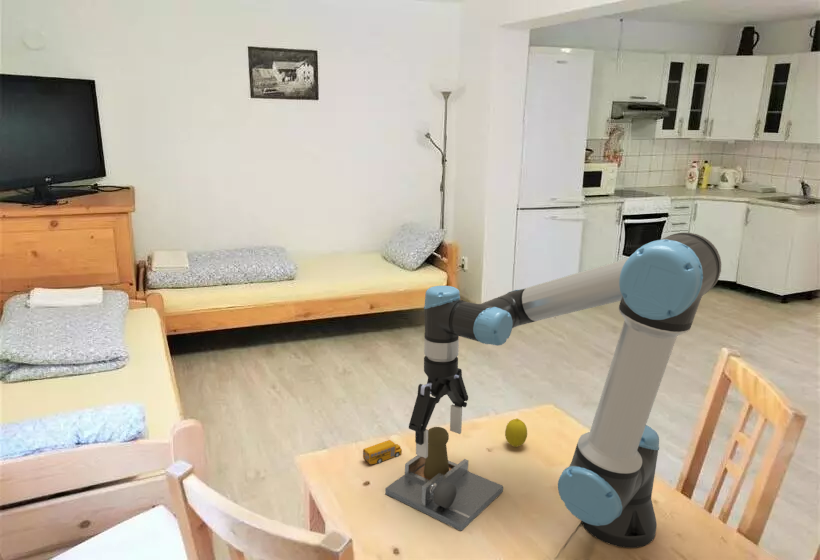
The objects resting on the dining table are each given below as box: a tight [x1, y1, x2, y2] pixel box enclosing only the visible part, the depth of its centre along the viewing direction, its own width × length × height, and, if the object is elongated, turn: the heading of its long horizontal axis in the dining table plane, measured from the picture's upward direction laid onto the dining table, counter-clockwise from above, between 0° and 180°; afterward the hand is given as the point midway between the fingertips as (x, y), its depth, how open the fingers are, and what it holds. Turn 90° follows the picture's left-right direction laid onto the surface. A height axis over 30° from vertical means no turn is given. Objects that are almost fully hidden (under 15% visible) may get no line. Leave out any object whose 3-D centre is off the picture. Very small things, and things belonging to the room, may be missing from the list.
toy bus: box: [362, 439, 403, 465], centre depth 149 cm, size 3×10×4 cm, turn 126°
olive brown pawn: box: [424, 426, 450, 479], centre depth 139 cm, size 6×6×11 cm
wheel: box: [434, 481, 456, 508], centre depth 129 cm, size 3×5×5 cm, turn 143°
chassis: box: [384, 455, 504, 532], centre depth 135 cm, size 20×18×6 cm
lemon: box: [504, 418, 528, 448], centre depth 155 cm, size 6×6×8 cm
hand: (439, 443), depth 139 cm, fingers open, 13 cm apart
